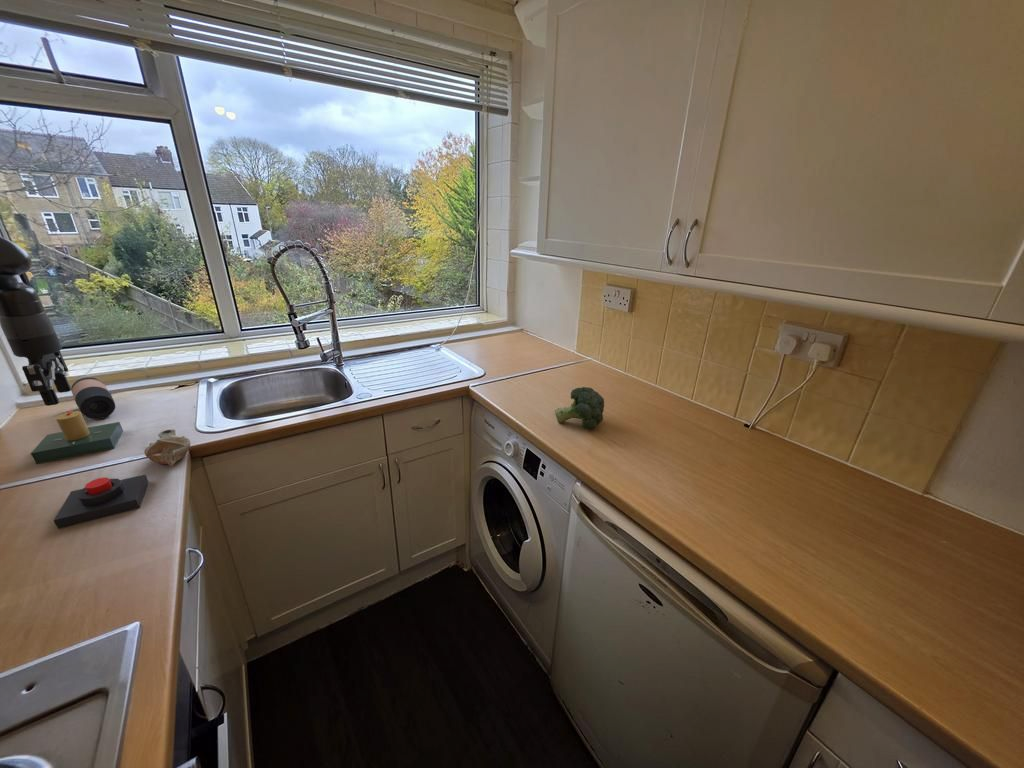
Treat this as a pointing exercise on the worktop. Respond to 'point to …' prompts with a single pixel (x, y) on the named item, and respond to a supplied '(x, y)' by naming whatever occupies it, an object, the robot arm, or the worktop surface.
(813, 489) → the worktop surface
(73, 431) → the dimmer knob
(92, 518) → the switch block
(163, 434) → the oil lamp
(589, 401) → the vegetable
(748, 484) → the worktop surface
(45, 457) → the dimmer panel
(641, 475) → the worktop surface
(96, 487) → the light button
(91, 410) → the travel mug
